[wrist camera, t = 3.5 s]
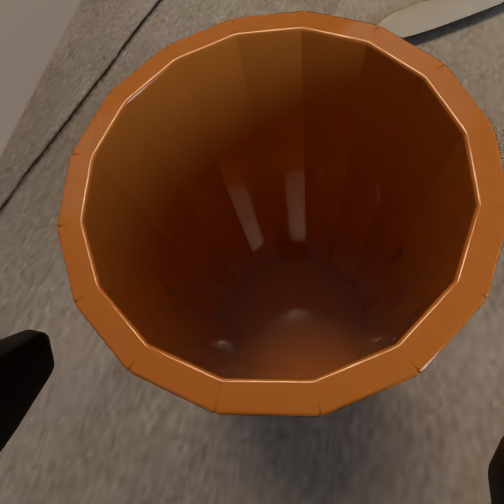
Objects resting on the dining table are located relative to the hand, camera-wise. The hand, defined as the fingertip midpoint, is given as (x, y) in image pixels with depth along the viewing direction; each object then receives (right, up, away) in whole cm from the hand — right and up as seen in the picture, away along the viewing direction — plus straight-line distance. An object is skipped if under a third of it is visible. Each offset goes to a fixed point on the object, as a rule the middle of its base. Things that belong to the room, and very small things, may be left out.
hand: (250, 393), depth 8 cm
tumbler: (+2, 0, +10) cm, 11 cm away
